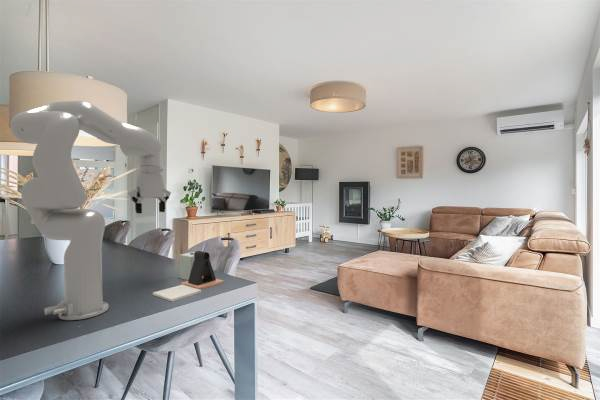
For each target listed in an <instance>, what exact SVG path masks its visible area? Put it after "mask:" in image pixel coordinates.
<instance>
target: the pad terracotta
mask: <svg viewBox="0 0 600 400" xmlns="http://www.w3.org/2000/svg"><path fill="white" fill-rule="evenodd" d="M202 278H203V277H202ZM223 283H225V280H223V279H219V278H216V280H215V281H211V282H208V283H204V284H201V285H195V284H191V283H188V280H185V281H182V282H180V283H179V285H186V286H189V287H193V288H196V289H199V290H205V289H207V288H211V287H214V286H217V285H221V284H223Z"/></svg>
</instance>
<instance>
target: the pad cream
mask: <svg viewBox="0 0 600 400" xmlns="http://www.w3.org/2000/svg"><path fill="white" fill-rule="evenodd" d="M201 293H203V289H201V290H199V289H196V288H193V287H189V286H186V285H180V284H179V285H176V286H173V287H167V288H165V289H160V290H158V291H153V292H152V295H153V296H155V297H157V298H160V299H163V300H165V301H169V302H175V301H178V300H182V299H184V298H189V297H192V296H194V295H197V294H201Z"/></svg>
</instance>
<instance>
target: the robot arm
mask: <svg viewBox="0 0 600 400" xmlns="http://www.w3.org/2000/svg"><path fill="white" fill-rule="evenodd" d="M9 127H10V131H11V133H12V134H13V136H14V137H15V138H16V139H17V140H19V141H20V142H22V143H24V144H25V143H26V144H30V145H35V144H36V146H35V149H34V150H33V151H34V152H33V155H32V165H33V168H34V171H35V172H36V175H37V177H32V178H30V179H28V180H27V181H26V182H25V183H24V184H23V186H22V187H21V188H22V189H21V199H22V203H23V205H24V207H25V209H26V211H27V213H28V215H29V216H30V218H31V219H32V221H33V223H34V224H35V226H36V227H37V230H38V231H39V232H40V234H41V235H42V236H44V237H45V238H47V239H48V240H52V241H55V240H56V241H69V244H68V246H67V247H66V249H65V252H64V255H63V278H64V282H63V283H64V287H63V288H64V299H62V300H61V301H60V303H58V304H57V305H54V306H52V305H51V306H48V307H45V308H44V309H43V310H44V316H47V315H51V314H53V315H58V319H60V320H63V321H78V320H85V319H89V318H93V317H96V316H99V315H101V314H104V313H105V312H106V311H108V309H109V303H107V302H105V301H103V299H104V298H103V295H104V294H103V257H102V256H103V254H102V253H103V251H102V250H103V238H104V233H105V230H106V229H105V228H106V220H105V218H104V216H103V215H102V213H100V212H99V211H97V210H95V209H89V208H88V209H87V208H81V207H83V206H84V205H85V203H86V201H87V194H86V193H87V192H86V189H85V188H84V186H83V183H82V181H81V178H80V177H79V175H78V172H77V170H76V168H75V166H74V162H73V160H72V149H73V147H74V145H75V142H76V140H77V139H78V136H79V135H80V134H79V133H80V131H81V132H84V133H86V134H88V135H90V136H92V137H95V138H97V139H98V140H100V141H101V142H104V143H106V144H112V145H117V146H119V148H120V151H121V153H123V154H124V155H125V156H128V157H133V158H134V157H139V173H137V176H136V182H135V188H134V189H132V190H130V191H129V192H127V194H128V196H129V198H130V200H131V201H132V202H133V204H134V206H135V213H136V214H142V213H143V208H142V207H143V204H142V202H143V200H144V199H157V200H159V203H158V211H159V213H165V211H166V203H167V201H168V200H169V199H170V196H171V194H172V193H171V191H169V190H167V189H166V188H165V186H164V178H163V175H162V174H161V173H163V172H164V168H161V150H162V144H161V142H160V140H159V138H158V137H157V136H156V135H154V134H153V133H151V132H150V131H148V130H146V129H145V128H142V127H139V126H136V125H134V124H133V125H132V124H130V123H127V122H123V121H120V120H117V119H116V118H115V117H113V116H111V115H109V114H108V113H107V112H105V111H103V110H102V109H100V108H99V107H97V106H95V105H94V104H93V103H90V102H88V101H85V100H69V101H67V100H65V101H64V100H63V101H54V102H50V103H47V104H45V105H41V106H38V107H35V108H31V109H28V110H25V111H22V112H19V113H17V114H15V115H14V116H13V117H12V119H11V121H10V126H9Z"/></svg>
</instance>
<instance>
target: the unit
mask: <svg viewBox="0 0 600 400" xmlns="http://www.w3.org/2000/svg"><path fill="white" fill-rule="evenodd" d="M195 252H196V251H192V252H186V253H182V254H178V256H179V257H178V258H179V262H178V264H179V279H183V280H185V281H188V280H189V276H190V273H191V269H192V266H193V262H194V253H195ZM202 277H203V276H202Z"/></svg>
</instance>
